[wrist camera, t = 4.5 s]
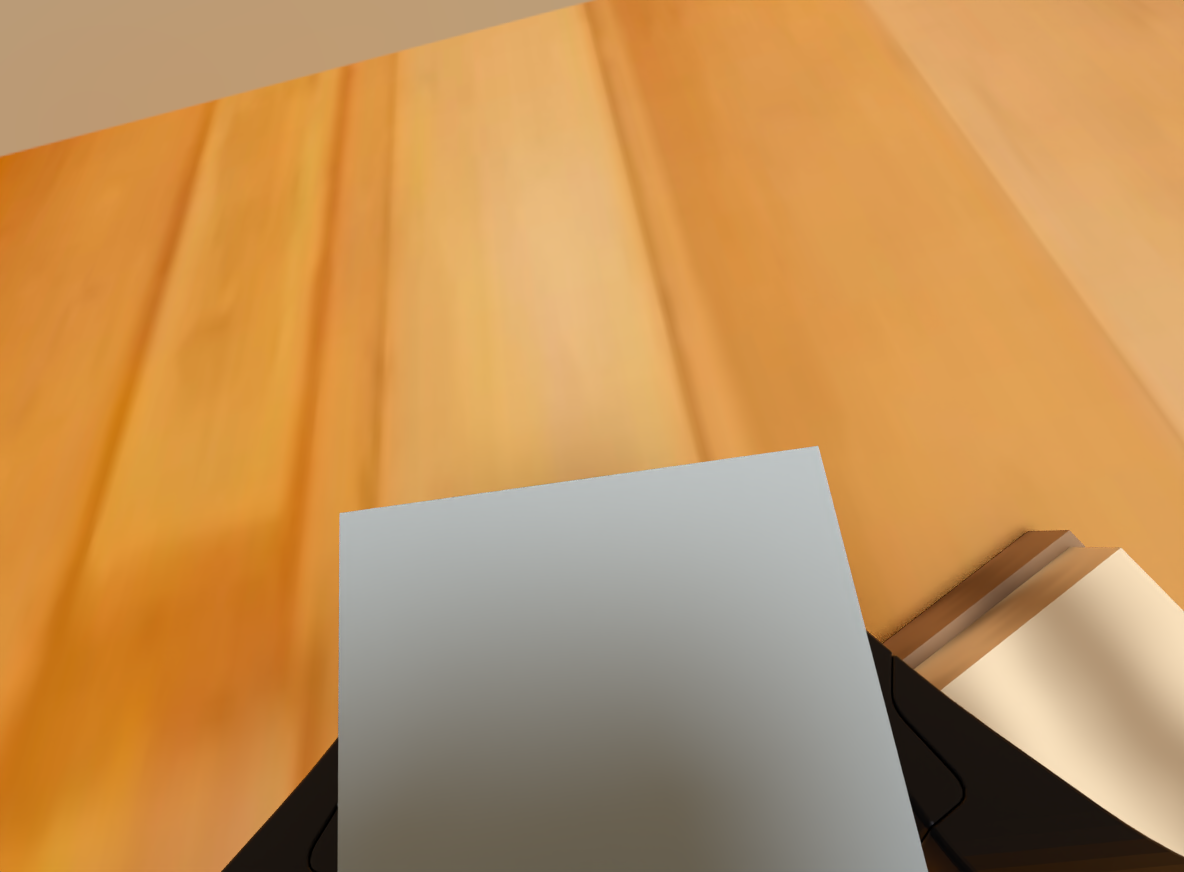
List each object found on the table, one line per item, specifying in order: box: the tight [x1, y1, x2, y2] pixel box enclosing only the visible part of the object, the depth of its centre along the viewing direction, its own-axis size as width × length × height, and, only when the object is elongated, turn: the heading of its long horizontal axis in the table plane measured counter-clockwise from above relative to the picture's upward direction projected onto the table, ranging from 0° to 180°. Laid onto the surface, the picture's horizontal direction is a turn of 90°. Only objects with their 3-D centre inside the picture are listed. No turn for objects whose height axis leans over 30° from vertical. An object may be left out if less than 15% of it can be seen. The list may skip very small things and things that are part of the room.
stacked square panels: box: [883, 530, 1184, 856], centre depth 18 cm, size 10×10×4 cm
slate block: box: [338, 446, 928, 872], centre depth 9 cm, size 4×4×12 cm
